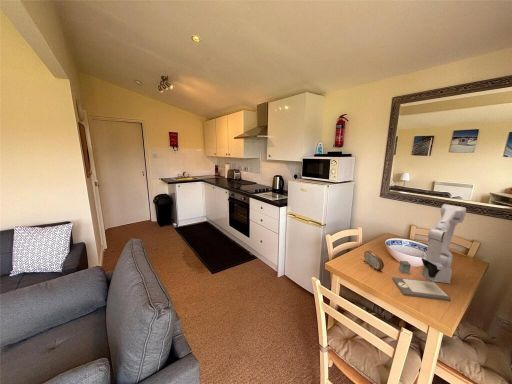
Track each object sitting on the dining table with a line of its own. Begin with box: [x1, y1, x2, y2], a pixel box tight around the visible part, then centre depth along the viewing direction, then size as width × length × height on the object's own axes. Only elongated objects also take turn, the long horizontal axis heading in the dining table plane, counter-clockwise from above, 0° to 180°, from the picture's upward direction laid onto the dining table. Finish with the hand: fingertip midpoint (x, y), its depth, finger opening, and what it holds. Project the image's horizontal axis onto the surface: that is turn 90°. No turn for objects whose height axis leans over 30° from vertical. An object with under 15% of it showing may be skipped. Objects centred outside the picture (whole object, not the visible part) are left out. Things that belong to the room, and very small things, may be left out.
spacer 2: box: [421, 265, 435, 281], centre depth 114 cm, size 4×4×6 cm
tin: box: [363, 250, 385, 271], centre depth 136 cm, size 15×3×8 cm, turn 10°
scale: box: [391, 276, 451, 302], centre depth 115 cm, size 21×14×2 cm, turn 79°
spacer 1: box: [398, 260, 412, 275], centre depth 131 cm, size 4×4×6 cm
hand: (429, 274), depth 114 cm, fingers closed on spacer 2, 4 cm apart
